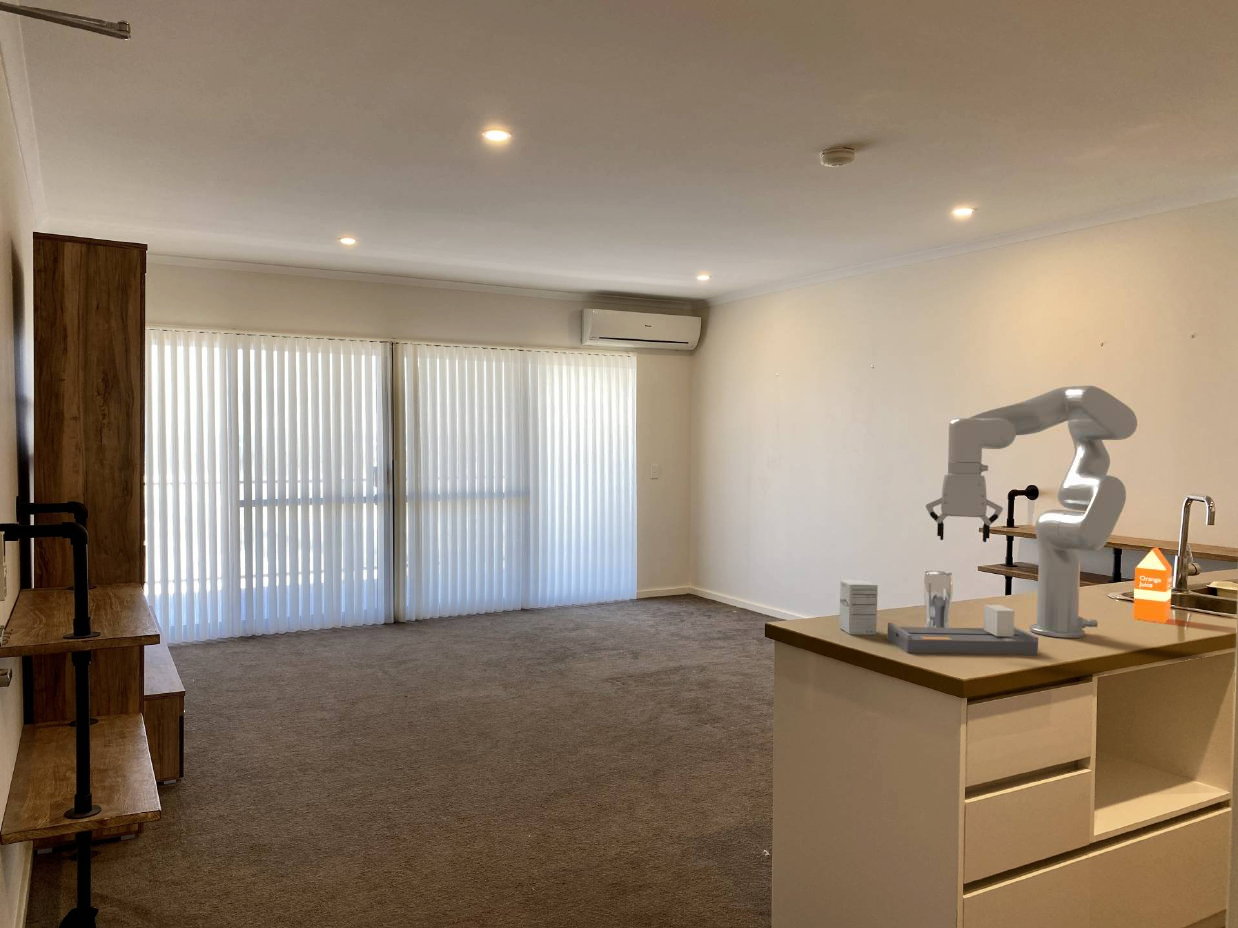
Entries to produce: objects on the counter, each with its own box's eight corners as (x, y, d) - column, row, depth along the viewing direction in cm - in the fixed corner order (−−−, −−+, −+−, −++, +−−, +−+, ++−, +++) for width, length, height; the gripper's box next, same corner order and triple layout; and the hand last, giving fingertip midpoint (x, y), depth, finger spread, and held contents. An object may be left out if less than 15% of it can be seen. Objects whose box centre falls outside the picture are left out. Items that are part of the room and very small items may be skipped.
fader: (999, 634, 211) (1000, 605, 210) (1013, 641, 204) (1014, 610, 203) (983, 634, 210) (984, 604, 210) (996, 641, 203) (997, 610, 203)
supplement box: (838, 628, 225) (839, 579, 225) (866, 628, 225) (867, 579, 225) (848, 634, 217) (849, 584, 217) (877, 634, 218) (878, 584, 218)
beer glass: (953, 634, 220) (955, 575, 219) (924, 633, 221) (926, 573, 221) (948, 629, 227) (950, 571, 226) (920, 627, 228) (922, 570, 228)
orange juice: (1132, 619, 245) (1135, 548, 245) (1139, 614, 252) (1141, 545, 252) (1165, 623, 240) (1168, 550, 240) (1170, 618, 247) (1173, 548, 246)
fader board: (1009, 640, 214) (1009, 624, 214) (1037, 654, 200) (1038, 637, 200) (887, 638, 214) (887, 622, 213) (907, 652, 200) (907, 635, 200)
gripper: (1002, 470, 212) (1001, 540, 212) (926, 468, 218) (925, 537, 218) (1004, 471, 205) (1002, 544, 205) (926, 469, 211) (924, 540, 211)
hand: (962, 540), depth 212 cm, fingers open, 9 cm apart
